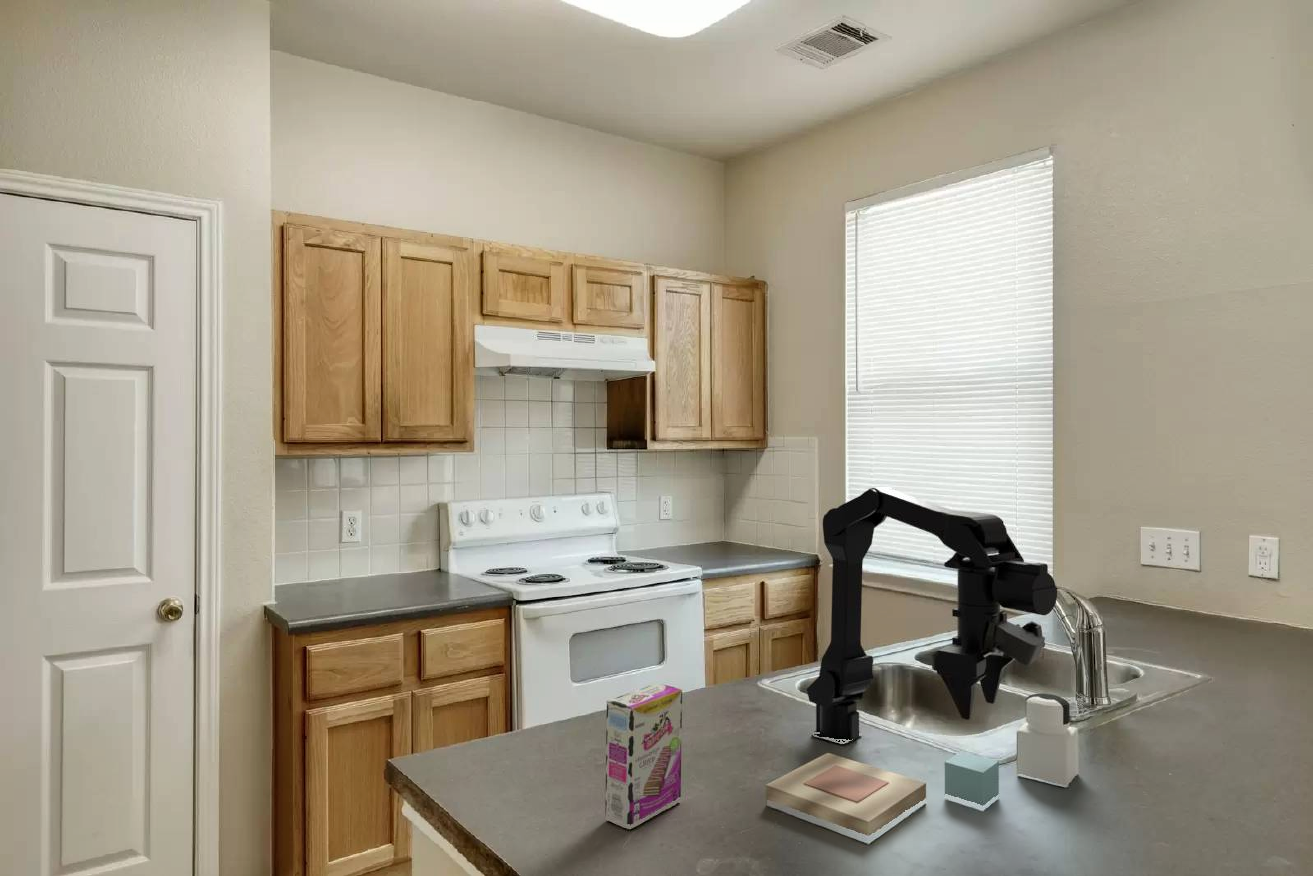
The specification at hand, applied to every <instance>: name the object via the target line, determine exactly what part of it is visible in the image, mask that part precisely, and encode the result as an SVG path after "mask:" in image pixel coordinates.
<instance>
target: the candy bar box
mask: <svg viewBox="0 0 1313 876" xmlns="http://www.w3.org/2000/svg"><path fill="white" fill-rule="evenodd" d="M682 710H683V689H681V688H679V687H674V686H670V685H666V684H662V683H657V682H656V683H654V684H652V685H649V686H646V687H645V686H644V687H643V688H640V689H637V690H634V691H632V692H629V693H626V694H624V695H620V696H618V697H613V698H612V699H608V700H607V701H606V731H605V733H606V734H605V735H606V736H605V742H606V744H605V798H604V799H605V803H604V804H605V807H604V809H605V810H604V812H605V813H604V816H605V815H606V816H609V817H611V818H614V819H617V820H619V821H622V822H624V823H626V824H630V825H631V824H633V823H636V822H637V821H639V820H640V819H643V818H645V817H646V816H648V815H651V814H652V813H654V812H655V811H657V810H659V809H661V808H662V807H664V806H667V804H669V803H671V802H672V801H675V800H676V799H677V798H678V797H681V798H682V795H681V793H682V790H681V789H682V732H683V731H682V730H683V723H682V721H683V719H682V718H683V711H682Z"/></svg>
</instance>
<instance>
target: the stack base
mask: <svg viewBox="0 0 1313 876" xmlns="http://www.w3.org/2000/svg"><path fill="white" fill-rule="evenodd" d="M925 798H926V799H927V782H924V781H921V780H917V779H915V778H911V777H908V776H905V775H902V774H898V773H896V772H891V771H888V770H885V769H882V768H878V767H876V766H872V765H869V764H865V763H864V762H863V763H862V762H859V761H856V760H852V759H849V758H846V757H843V756H839V755H837V754H834V753H833V754H832V753H829V752H826V753H825V754H823V755H821V756H819V757H817V758H815V759H813V760H810V761H809V762H807V763H805V764H803V765H802V766H799V767H798V768H796V769H793V770H791V771H790V772H787V773H786V774H783V775H782V776H780V777H778V778H776V779H774V780H773V781H770V782H769V783H766V785H765V800H766V799H767V800H770V801H774V802H777V803H778V804H781V805H783V806H787V807H791V808H792V809H795V810H799V811H800V812H803V813H806V814H808V815H812V816H814V817H816V818H818V819H823V820H826V821H828V822H831V823H833V824H837V825H839V826H842V827H845V828H847V829H851V830H854V831H856V832H858V833H862V834H865V835H868V836H869V835H871V834H872V833H875V832H876V831H877V830H878V829H881V828H882V827H883V826H884V825H886V824H888V823H889V822H890V821H892V820H893V819H895V818H897V817H898V816H899V815H901V814H902V813H903V812H905V810H908V809H910V808H911V807H913V806H915V805H916V804H918V803H919V802H920V801H923V800H924V799H925Z"/></svg>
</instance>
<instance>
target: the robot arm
mask: <svg viewBox="0 0 1313 876" xmlns="http://www.w3.org/2000/svg"><path fill="white" fill-rule="evenodd" d="M823 515H824V516H823V517H822V533H823V534H822V535H823V542H824V545H825V547H826V548H827V552H828V553H829V554H830V557H831V559H832V573H831V576H832V577H831V578H832V580H831V582H832V583H831V620H830V622H831V624H830V625H831V626H830V633H831V634H830V643H829V645H828V646H827V648H826V650H825V652H824V653H823V656H822V657H821V661H820V667H819V674H818V675H819V676H817V678H816V679H815V680H814V681H813V682H812V683H811V684H810V685H809V686H808V687H807V688H806V692H807V697H808V700H809V702H810V703H812V704H815V727H816V728H815V730H814V731H813V732H820V734H814V735H817V736H819V737H829V738H834V739H846V740H848V739H849V740H852V739H854V738H856V737H858V736H859V732H860V713H859V711H858V702H857V701H863V700H864V699H865V694H866V691H867V689H869V688H870V686H871V681H872V680H875V679H874V673H873V666H874V658H873V657H874V656H873V655H868V654H867V653H866V652H865V650H864V647H863V646H862V643H861V641H862V637H861V636H862V606H863V605H862V600H863V599H862V598H863V597H862V596H863V595H862V594H863V593H862V592H863V563H864V558H865V557H866V555H867V553H868V551H869V549H870V547H871V546H872V543H873V537H874V532H875V528H877V527H878V526H880V525H882V523H884V522H885V521H886V519H887V518H889V519H890V518H891V519H893V520H896V521H898V522H900V523H903V524H906V525H908V526H911V527H913V528H916V529H919V530H921V531H923V532H926V533H929V534H932V535H933V536H935V537H937V538H938V539H939V540H940V541H941V543H942V544H943V546H945V547H947V548H949V549H950V550H952V551H953V552H954V554H953V555H952V557H950V558H949V559H948V560H947V561H945V562H944V563H943V566H944V567H945V568H947V569H954V570H957V604H956V605H957V607H954V608H952V609H951V610H952V611H951V612H952V613H951V614H952V615H951V616H952V617H953V618H957V619H956V620H957V621H956V622H957V629H956V630H957V635H955V636H952V642H951V643H952V644H951V645H947V646H944V647H942V648H940V649H938V650H937V651H935V653H933V654H932V656H931V669H932V670H933V671H935V672H936V674H937V675H939V676H940V678H941V680H942V681H943V684H945V687H946V689H947V690H948V692H949V694H950V696H951V697H950V698H951V699H952V701H953V702H954V705H955V706H956V709H957V712H958V713H959V715H960V717H961V719H963V720H966V721H969V720H970V719H971V717H972V711H973V706H974V700H975V692H976V685H977V684H978V683H980V687H981V691H982V693H983V697H984V699H985V702H986V703H988V704H994V703H995V702H996V699H997V694H998V693H999V692H998V691H999V689H1000V685H1001V681H1002V678H1003V675H1004V672H1005V668H1006V667H1007V666H1008V665H1009V664H1011V663H1012V662H1013V661H1014V660H1016V662H1017V663H1019V664H1022V665H1024V666H1030V665H1031V664H1033V662H1037V661H1038V659H1039V656H1040V653H1041V651H1042V649H1043V648H1045V647H1046V643H1045V642H1046V640H1045V639H1046V638H1045V637H1044V636H1043V630H1042V625H1041V624H1038V623H1036V622H1034V621H1033V620H1031V621H1029V622H1027V623H1026V624H1025V625H1023V626H1021V625H1020V624H1019V623H1018V624H1015V623H1014V624H1013V623H1011V622H1010V621H1008V613H1007V612H1006V610H1005V609H1009V610H1014V611H1018V612H1019V611H1020V612H1025V613H1029V614H1035V615H1039V616H1040V615H1041V616H1047V615H1049V614H1050V613H1051V612H1052V611H1053V610H1054V607H1055V605H1056V603H1057V600H1058V587H1057V586H1056V582H1055V579H1054V578H1053V576H1052V575H1051V574H1050V573H1049V570H1048V569H1049V568H1048V566H1049V565H1048V564H1047V563H1042V562H1034V563H1033V562H1027V561H1025V559H1024V557H1023V556H1022V555H1021V553H1020V551H1019V549H1018V548H1017V546H1016V545H1015V543H1014V542H1013V540H1012V538H1011V537H1010V536H1009V533H1008V531H1007V527H1006V525H1005V524H1004V520H1003V519H1002V518H1001V517H999V516H997V515H995V514H990V513H982V512H977V511H975V512H974V511H963V510H954V509H949V508H946V507H945V506H944V507H943V506H940V505H938V504H934V503H931V502H929V501H926V500H924V499H921V498H918V497H915V496H912V495H909V494H906V493H903V492H900V491H898V490H896V489H894V488H893V487H889V486H881V487H871V488H868V489H866V491H864V492H863V493H861V494H860V495H859V496H857V497H855V498H853V499H850V500H849V501H846V502H845V503H842V504H841V505H839V506H837V507H834V508H831V509H829V510H828V511H827V512H826V513H825V514H823ZM1001 607H1002V608H1001ZM1003 608H1004V609H1003ZM952 645H953V646H952ZM858 738H859V737H858ZM856 739H857V738H856ZM854 740H855V739H854ZM836 741H837V740H836ZM842 741H843V740H842ZM852 741H853V740H852ZM838 742H840V740H839V741H838ZM843 742H845V741H843Z"/></svg>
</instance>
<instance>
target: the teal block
mask: <svg viewBox="0 0 1313 876" xmlns="http://www.w3.org/2000/svg"><path fill="white" fill-rule="evenodd" d="M999 764H1000V761H999V760H996V759H992V758H990V757H984V756H980V755H977V754H973V753H971V752H966V751H962V750H961V751H958V753H956V754H954V755H953V756H952V757H950V758H948V759H947V760H945V761H944V795H945V794H948V795H951V796H954V797H959V798H961V799H964V800H967V801H971V802H975V803H977V804H980V805H982V806H983V805H985V804H986V803H987V802H988V801H990V800H991V799H992V798H993V797H996V796H997V795H998V794H999V795H1000V790H999V789H1000V784H999V783H1000V782H999V781H1000V780H999V779H1000V778H999V777H1000V776H999V774H1000V772H999V771H1000V765H999Z"/></svg>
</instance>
